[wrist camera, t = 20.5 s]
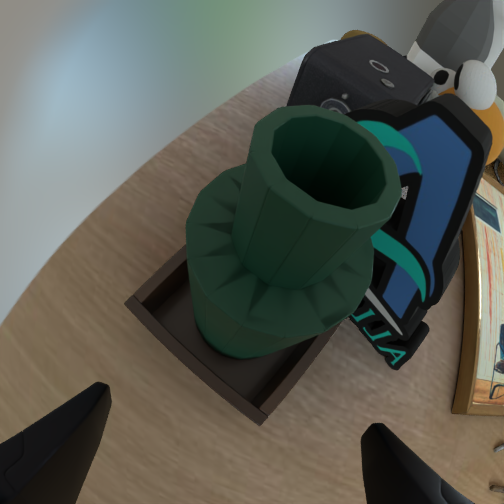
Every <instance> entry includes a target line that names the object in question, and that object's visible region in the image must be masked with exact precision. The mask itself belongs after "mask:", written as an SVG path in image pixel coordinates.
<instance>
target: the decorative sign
mask: <svg viewBox="0 0 504 504" xmlns="http://www.w3.org/2000/svg"><path fill="white" fill-rule="evenodd" d="M344 115H345V116H348V117H349V118H351V119H352V120H354V121H355V122H357V123H358V124H360V125H361V126H363V127H364V128H366V129H367V130H368V131H370V132H371V133H373V134H374V135H375V136H376V137H377V138H378V139H379V141H380V142H381V143H382V145H383V146H384V147H385V149H386V150H387V151H388V153H389V154H390V155H391V157H392V158H393V160H394V161H395V164H396V165H397V170H398V174H399V179H400V184H401V188H403V187H406V186H408V192H407V195H406V196H407V197H406V199H405V200H404V199H403V198H400V200H399V202H398V204H397V206H396V208H395V210H394V212H393V214H392V216H391V218H390V219H389V220H388V221H387V222H386V223H385V224H384V225H383V226H382V227H381V228H380V229H379V230H378V231H377V232H376V233H374V234H373V235H372V236H371V240H372V244H373V247H374V249H373V250H374V259H373V271H372V281H371V284H370V286H369V288H368V289H367V291H366V293H365V295H364V297H363V298H362V300H361V302H360V304H359V305H358V307H357V309H356V311H354V313H352V314H351V315H350V316H348V317H349V318H350V319H351V320H352V322H353V323H354V324H355V325H357V326H358V328H359V330H360V331H361V332H362V334H363V335H364V336H365V337H366V338H367V340H368V341H369V342H370V343H371V344H372V345H373V347H374V348H375V349H376V350H377V352H378V353H380V354H381V355H385V356H387V357H386V358H385V361H386V362H387V364H388V365H389V366H390V367H391V368H392V369H394V370H399V369H400V367H401V366H402V365H403V364H404V363H405V362H407V361H408V360H409V359H410V358H411V357H412V356H413V354H414V353H415V351H416V350H417V349H418V347H419V346H420V344H421V343H422V341H423V340H424V338H425V337H426V335H427V334H428V332H429V326H428V325H427V324H426V323H425V322H423V321H422V319H423V318H424V316H425V315H426V313H427V310H428V309H429V308H430V307H431V306H432V305H435V304H437V303H438V302H439V300H440V298H441V297H442V295H443V293H444V292H445V290H446V288H447V286H448V285H449V283H450V281H451V279H452V278H453V276H454V274H455V272H456V270H457V268H458V265H459V259H460V248H459V241H458V237H459V234H460V232H461V230H462V227H463V225H464V222H465V220H466V217H467V214H468V212H469V210H470V208H471V205H472V203H473V200H474V197H475V194H476V191H477V189H478V187H479V184H480V181H481V178H482V176H483V172H484V169H485V166H486V162H487V159H488V156H489V152H490V150H491V146H492V144H493V143H492V140H493V136H492V133H491V130H490V128H489V127H488V126H487V125H486V124H485V123H484V122H483V121H482V120H481V119H480V118H479V117H478V116H477V115H476V114H475V113H474V112H473V110H472V109H471V108H470V107H469V106H468V105H467V104H466V103H465V102H464V101H462V100H461V99H460V98H459V97H458V96H456V95H454V94H452V93H445V94H443V95H440V96H438V97H436V98H434V99H432V100H429V101H427V102H425V103H423V104H421V105H419V106H417V105H415V104H413V103H411V102H408V101H405V100H398V99H385V100H380V101H376V102H374V103H371V104H368V105H366V106H363V107H360V108H358V109H355V110H353V111H350V112H348V113H345V114H344Z"/></svg>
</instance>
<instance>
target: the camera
mask: <svg viewBox="0 0 504 504" xmlns="http://www.w3.org/2000/svg"><path fill="white" fill-rule="evenodd" d="M433 83H434V79H433V78H432V77H431V76H430V75H428V74H427V73H426V72H424V71H423V70H422V69H420V68H419V67H418V66H416V65H415V64H413V63H412V62H411V61H409V60H408V59H407V56H402V55H401V54H399V53H398V52H396V51H395V50H393V49H392V48H390V47H389V46H387V45H385V44H384V43H382V42H381V41H379V40H378V39H376V38H374V37H373V36H371V35H369V34H360V35H357V36H353V37H349V38H346V39H342V40H339V41H334V42H331V43H327V44H323V45H320V46H317V47H314V48H312V49H311V50H310V51H309V52H308V53H307V54H306V55H305V57H304V59H303V61H302V63H301V66H300V69H299V72H298V74H297V77H296V80H295V83H294V86H293V88H292V91H291V94H290V97H289V100H288V103H287V106H300V105H314V106H318V107H321V108H325V109H328V110H331V111H334V112H338V113H341V114H345V113H348V112H350V111H353V110H355V109H358V108H360V107H363V106H366V105H368V104H371V103H374V102H376V101H380V100H385V99H398V100H405V101H408V102H411V103H413V104H415V105H417V106H419V105H421V104H423V103H425V102H427V101H429V100H432V99H434V98H436V97H438V96H440V95H438V94H437V93H438V92H436V91H435V90H432V89H431V87H432V86H433Z"/></svg>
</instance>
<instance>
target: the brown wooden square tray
mask: <svg viewBox="0 0 504 504" xmlns="http://www.w3.org/2000/svg"><path fill="white" fill-rule="evenodd" d="M124 304H125V306H126V307H127V308H128V309H129V310H130V311H131V312H132V313H133V314H134V315H135V316H136V317H137V318H138V320H139V321H140V322H141V323H142V324H143V325H144V326H145V327H146V328H147V329H148V330H149V331H150V332H151V333H152V334H153V335H154V336H155V337H156V338H157V339H158V340H159V341H160V342H161V343H162V344H163V345H164V346H165V347H166V348H167V349H168V350H169V351H170V352H172V353H173V354H174V355H175V356H176V357H177V358H178V359H179V360H180V361H181V362H182V363H183V364H184V365H185V366H187V367H188V368H189V369H190V370H191V371H192V372H193V373H194V374H195V375H197V376H198V377H199V378H200V379H201V380H202V381H203V382H205V383H206V384H207V385H208V386H209V387H210V388H212V389H213V390H214V391H215V392H216V393H218V394H219V395H220V396H221V397H222V398H224V399H225V400H226V401H227V402H229V403H230V404H231V405H232V406H234V407H235V408H236V409H237V410H239V411H240V412H241V413H243V414H244V415H245V416H246V417H248V418H249V419H250V420H252V421H253V422H254V423H256V424H257V425H258V426H261V425H262V424H263V422H264V421H265V420H266V419H267V418H268V416H269V415H270V414H271V413H272V412H273V411H274V410H275V408H276V407H277V406H278V405H279V404H280V403H281V401H282V400H283V399H284V398H285V396H286V395H287V394H288V393H289V392H290V390H291V389H292V388H293V387H294V385H295V384H296V383H297V382H298V380H299V379H300V378H301V376H302V375H303V374H304V373H305V371H306V370H307V369H308V367H309V366H310V365H311V363H312V362H313V361H314V359H315V358H316V357H317V355H318V354H319V353H320V351H321V350H322V349H323V347H324V346H325V344H326V343H327V342H328V340H329V339H330V337H331V336H332V334H333V333H334V332H335V330H336V329H337V327H338V326H339V324H340V323H341V322H340V323H338V324H337V325H335V326H334V327H332V328H331V329H329V330H328V331H326V332H324V333H322V334H319V335H317V336H314V337H312V338H309V339H307V340H304V341H302V342H299V343H297V344H294V345H292V346H289V347H286V348H284V349H281V350H278V351H276V352H273V353H270V354H268V355H265V356H262V357H259V358H253V359H246V360H238V359H232V358H228V357H226V356H223V355H221V354H219V353H217V352H216V351H214V350H213V349H212V348H211V347H210V346H208V345H207V343H206V342H205V341H204V340H203V338H202V337H201V335H200V333H199V331H198V328H197V326H196V324H195V317H194V310H193V303H192V296H191V289H190V281H189V273H188V265H187V253H186V245H184V246H183V247H182V248H181V249H180V250H179V251H178V252H177V253H176V254H175V255H174V256H173V257H172V258H170V259H169V260H168V261H167V262H166V263H165V264H164V265H163V266H162V267H161V268H160V269H159V270H158V271H157V272H156V273H155V274H154V275H153V276H151V277H150V278H149V279H148V280H147V281H146V282H145V283H144V284H143V285H142V286H141V287H140V288H139V289H138V290H137V291H136V292H135V293H134V294H133V295H132V296H131V297H130V298H129V299H128V300H127V301H126V302H125V303H124ZM267 415H268V416H267Z"/></svg>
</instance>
